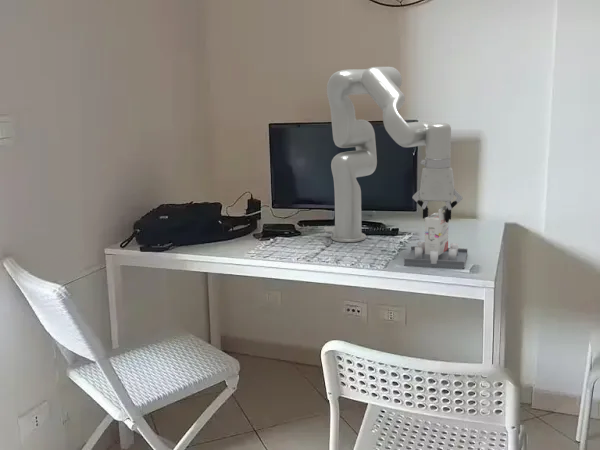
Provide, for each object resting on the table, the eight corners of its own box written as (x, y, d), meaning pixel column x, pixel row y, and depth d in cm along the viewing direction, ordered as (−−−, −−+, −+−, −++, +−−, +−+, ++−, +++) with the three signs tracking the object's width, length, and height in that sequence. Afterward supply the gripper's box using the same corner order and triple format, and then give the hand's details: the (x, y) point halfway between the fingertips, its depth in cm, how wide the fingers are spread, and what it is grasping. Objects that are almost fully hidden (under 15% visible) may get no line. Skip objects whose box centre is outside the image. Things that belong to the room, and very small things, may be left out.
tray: (404, 266, 204) (404, 251, 203) (411, 252, 220) (411, 238, 219) (463, 269, 199) (464, 254, 198) (467, 254, 214) (467, 240, 213)
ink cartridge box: (433, 247, 214) (434, 203, 210) (448, 249, 211) (449, 204, 208) (423, 254, 206) (424, 208, 203) (438, 256, 204) (439, 209, 201)
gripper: (407, 165, 202) (407, 222, 206) (465, 165, 197) (464, 225, 201) (411, 162, 209) (410, 217, 213) (467, 162, 204) (465, 219, 208)
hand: (436, 220), depth 207 cm, fingers closed on ink cartridge box, 5 cm apart
